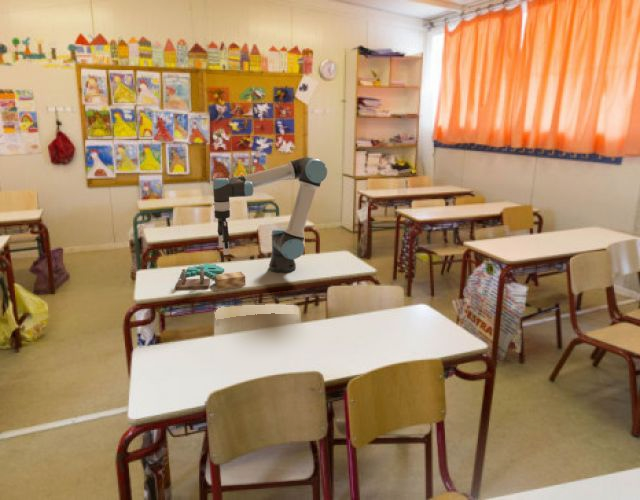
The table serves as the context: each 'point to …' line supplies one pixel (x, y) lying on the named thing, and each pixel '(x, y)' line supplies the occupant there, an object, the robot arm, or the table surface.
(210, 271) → the alien figure
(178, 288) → the peg stand
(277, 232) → the robot arm
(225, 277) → the light brown wooden block
